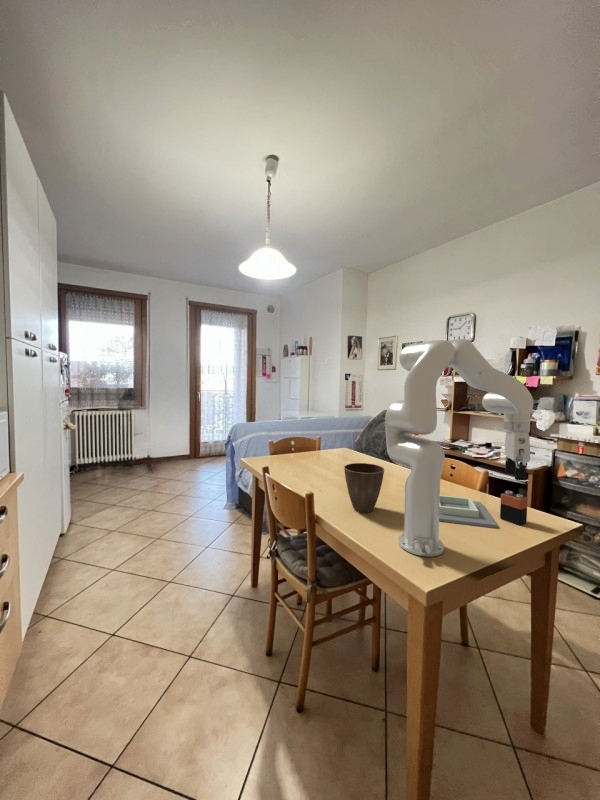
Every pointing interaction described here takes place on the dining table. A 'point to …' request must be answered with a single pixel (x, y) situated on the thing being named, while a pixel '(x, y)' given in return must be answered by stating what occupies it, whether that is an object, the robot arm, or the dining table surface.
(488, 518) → the slot tray
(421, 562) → the dining table surface
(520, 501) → the battery
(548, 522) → the dining table surface
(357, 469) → the plant pot
